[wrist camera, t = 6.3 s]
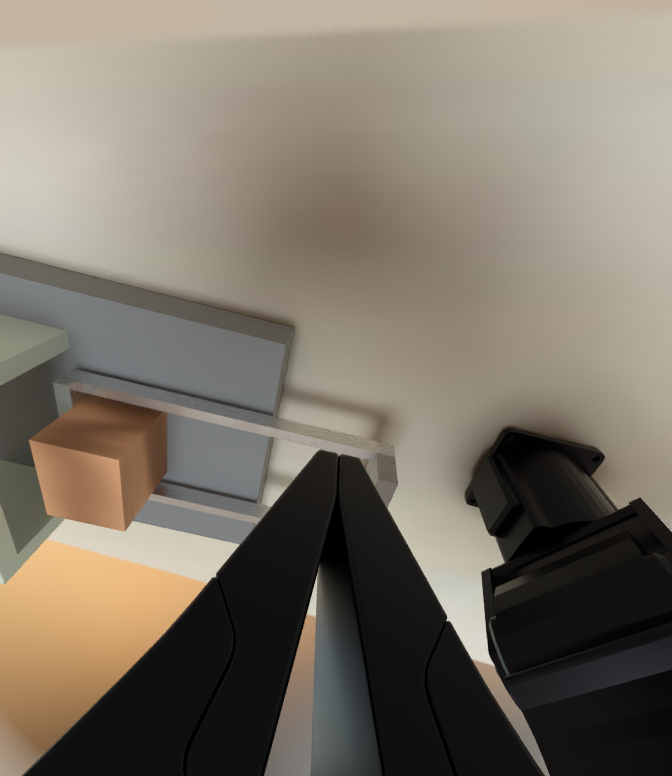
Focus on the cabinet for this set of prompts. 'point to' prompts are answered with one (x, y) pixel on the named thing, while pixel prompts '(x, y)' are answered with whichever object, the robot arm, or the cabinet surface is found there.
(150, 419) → the terracotta block
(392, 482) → the silver flat rectangular frame
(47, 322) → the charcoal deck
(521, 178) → the cabinet surface
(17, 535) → the pale green tunnel
